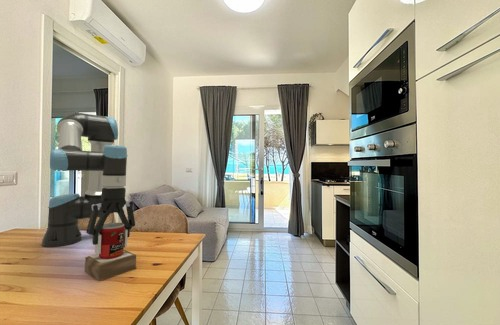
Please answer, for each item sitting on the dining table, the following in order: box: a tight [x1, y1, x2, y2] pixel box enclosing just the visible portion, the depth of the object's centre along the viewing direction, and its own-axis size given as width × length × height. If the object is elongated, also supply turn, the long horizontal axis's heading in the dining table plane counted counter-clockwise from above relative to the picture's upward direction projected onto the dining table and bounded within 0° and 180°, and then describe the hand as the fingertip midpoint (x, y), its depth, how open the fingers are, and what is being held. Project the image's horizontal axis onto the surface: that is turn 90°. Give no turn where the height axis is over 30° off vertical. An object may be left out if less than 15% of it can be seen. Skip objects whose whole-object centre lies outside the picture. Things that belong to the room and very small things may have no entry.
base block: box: [84, 249, 137, 282], centre depth 82 cm, size 12×12×5 cm
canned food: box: [99, 222, 125, 259], centre depth 82 cm, size 8×8×11 cm
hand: (111, 249), depth 82 cm, fingers open, 8 cm apart
